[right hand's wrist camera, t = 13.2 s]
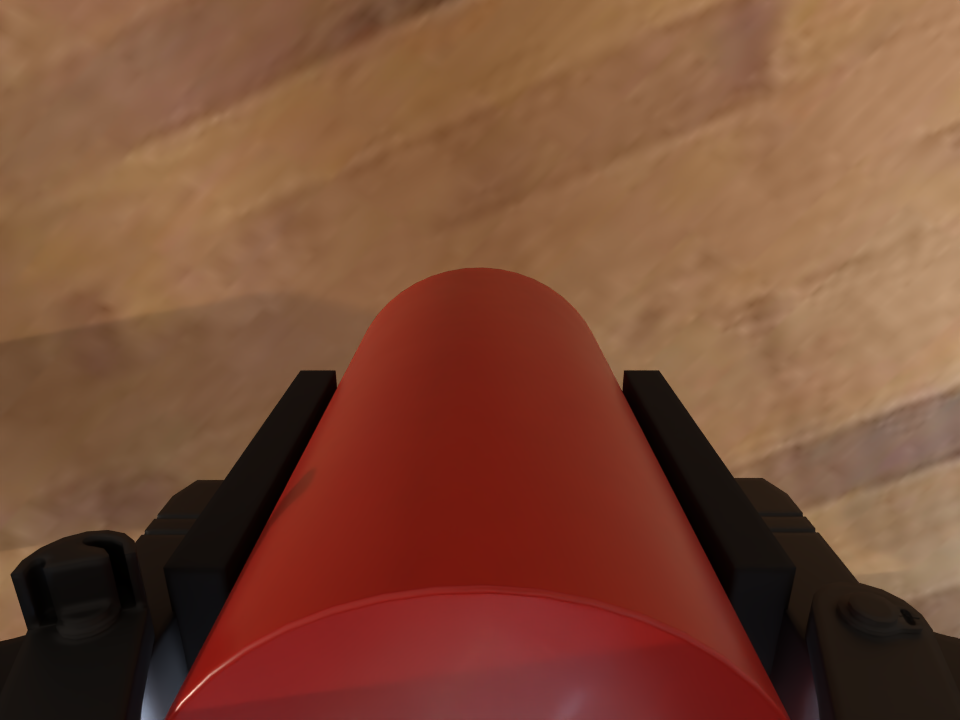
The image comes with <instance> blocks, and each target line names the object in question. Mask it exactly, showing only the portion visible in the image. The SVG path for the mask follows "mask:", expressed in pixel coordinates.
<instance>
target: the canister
mask: <svg viewBox="0 0 960 720" xmlns="http://www.w3.org/2000/svg"><path fill="white" fill-rule="evenodd" d="M164 720H790V718H789V716H788V714H787V712H786V710H785V708H784V706H783V704H782V702H781V700H780V698H779V696H778V694H777V692H776V690H775V688H774V686H773V684H772V682H771V681H770V679H769V677H768V675H767V673H766V671H765V669H764V667H763V665H762V663H761V661H760V659H759V657H758V655H757V653H756V651H755V649H754V647H753V645H752V644H751V642H750V640H749V638H748V636H747V634H746V632H745V630H744V628H743V626H742V624H741V622H740V620H739V618H738V616H737V614H736V612H735V610H734V608H733V606H732V605H731V603H730V601H729V599H728V597H727V595H726V593H725V591H724V589H723V587H722V585H721V583H720V581H719V579H718V577H717V575H716V573H715V571H714V569H713V568H712V566H711V564H710V562H709V560H708V558H707V556H706V554H705V552H704V550H703V548H702V546H701V544H700V542H699V540H698V538H697V536H696V534H695V532H694V530H693V529H692V527H691V525H690V523H689V521H688V519H687V517H686V515H685V513H684V511H683V509H682V507H681V505H680V503H679V501H678V499H677V497H676V495H675V493H674V491H673V490H672V488H671V486H670V484H669V482H668V480H667V478H666V476H665V474H664V472H663V470H662V468H661V466H660V464H659V462H658V460H657V458H656V456H655V454H654V453H653V451H652V449H651V447H650V445H649V443H648V441H647V439H646V437H645V435H644V433H643V431H642V429H641V427H640V425H639V423H638V421H637V419H636V417H635V415H634V414H633V412H632V410H631V408H630V406H629V404H628V402H627V400H626V398H625V396H624V394H623V392H622V390H621V388H620V386H619V384H618V382H617V380H616V378H615V376H614V375H613V373H612V371H611V369H610V367H609V365H608V363H607V361H606V359H605V357H604V355H603V353H602V351H601V349H600V347H599V345H598V343H597V341H596V339H595V338H594V336H593V334H592V332H591V330H590V329H589V327H588V325H587V324H586V322H585V321H584V319H583V318H582V317H581V316H580V314H579V313H578V312H577V311H576V309H575V308H574V307H573V306H572V305H571V304H570V303H569V302H567V301H566V300H565V299H564V298H563V297H562V296H561V295H559V294H558V293H556V292H555V291H554V290H552V289H551V288H549V287H548V286H546V285H544V284H542V283H540V282H538V281H536V280H534V279H532V278H529V277H526V276H524V275H521V274H518V273H514V272H510V271H506V270H501V269H492V268H464V269H458V270H452V271H447V272H444V273H440V274H437V275H434V276H431V277H428V278H426V279H424V280H422V281H420V282H417V283H415V284H414V285H412V286H411V287H409V288H407V289H406V290H404V291H403V292H401V293H400V294H399V295H397V296H396V297H395V298H394V299H393V300H391V301H390V302H389V303H388V304H387V305H386V306H385V307H384V308H383V309H382V311H381V312H380V313H379V314H378V315H377V316H376V318H375V319H374V321H373V322H372V324H371V325H370V327H369V328H368V330H367V332H366V334H365V336H364V337H363V339H362V341H361V343H360V345H359V347H358V349H357V351H356V353H355V355H354V357H353V359H352V360H351V362H350V364H349V366H348V368H347V370H346V372H345V374H344V376H343V378H342V380H341V382H340V383H339V385H338V387H337V389H336V391H335V393H334V395H333V397H332V399H331V401H330V403H329V405H328V406H327V408H326V410H325V412H324V414H323V416H322V418H321V420H320V422H319V424H318V426H317V428H316V429H315V431H314V433H313V435H312V437H311V439H310V441H309V443H308V445H307V447H306V449H305V451H304V452H303V454H302V456H301V458H300V460H299V462H298V464H297V466H296V468H295V470H294V472H293V474H292V475H291V477H290V479H289V481H288V483H287V485H286V487H285V489H284V491H283V493H282V495H281V497H280V498H279V500H278V502H277V504H276V506H275V508H274V510H273V512H272V514H271V516H270V518H269V519H268V521H267V523H266V525H265V527H264V529H263V531H262V533H261V535H260V537H259V539H258V541H257V542H256V544H255V546H254V548H253V550H252V552H251V554H250V556H249V558H248V560H247V562H246V564H245V565H244V567H243V569H242V571H241V573H240V575H239V577H238V579H237V581H236V583H235V585H234V587H233V588H232V590H231V592H230V594H229V596H228V598H227V600H226V602H225V604H224V606H223V608H222V610H221V611H220V613H219V615H218V617H217V619H216V621H215V623H214V625H213V627H212V629H211V631H210V633H209V634H208V636H207V638H206V640H205V642H204V644H203V646H202V648H201V650H200V652H199V654H198V656H197V657H196V659H195V661H194V663H193V665H192V667H191V669H190V671H189V673H188V675H187V677H186V679H185V680H184V682H183V684H182V686H181V688H180V690H179V692H178V694H177V696H176V698H175V700H174V702H173V703H172V705H171V707H170V709H169V711H168V713H167V715H166V717H165V719H164Z"/></svg>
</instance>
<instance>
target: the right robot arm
mask: <svg viewBox="0 0 960 720" xmlns="http://www.w3.org/2000/svg"><path fill="white" fill-rule="evenodd" d="M336 389H337V383H336V371H300V372H299V374H298V375H297V376H296V378H295V379H294V381H293V382H292V384H291V385H290V386H289V388H288V389H287V391H286V392H285V394H284V395H283V396H282V398H281V399H280V401H279V402H278V404H277V405H276V406H275V408H274V409H273V411H272V412H271V414H270V415H269V417H268V418H267V419H266V421H265V422H264V424H263V425H262V427H261V428H260V429H259V431H258V432H257V434H256V435H255V437H254V438H253V439H252V441H251V442H250V444H249V445H248V447H247V448H246V449H245V451H244V452H243V454H242V455H241V457H240V458H239V459H238V461H237V462H236V464H235V465H234V467H233V468H232V469H231V471H230V472H229V474H228V475H227V477H226V478H225V480H197V481H195V482H194V483H192V484H191V485H189V486H188V487H186V488H185V489H183V490H181V491H180V492H178V493H177V494H175V495H174V496H172V498H171V499H170V500H169V501H168V503H167V504H166V505H165V506H164V508H163V509H162V510H161V511H160V513H159V514H158V515H157V519H154V520H153V521H152V522H151V524H150V525H149V526H148V527H147V529H146V530H145V534H144V535H141V536H140V537H139V539H138V540H137V541H136V542H134V540H133V539H131V538H130V537H129V536H127V535H126V534H125V533H120V532H115V531H110V530H102V531H88V532H83V533H79V534H76V535H72V536H68V537H64V538H62V539H59V540H57V541H55V542H53V543H50V544H48V545H46V546H43V547H41V548H40V549H38V550H37V551H35V552H34V553H32V554H31V555H29V556H28V557H27V558H25V559H24V560H22V561H21V563H20V564H19V565H18V566H17V567H16V569H15V570H14V571H13V572H12V573H11V578H12V581H13V584H14V587H15V590H16V594H17V597H18V600H19V603H20V606H21V610H22V613H23V616H24V619H25V622H26V626H27V629H28V631H27V634H26V635H24V636H21V637H17V638H14V639H9V640H5V641H0V720H164V719H165V717H166V715H167V713H168V711H169V709H170V707H171V705H172V703H173V702H174V700H175V698H176V696H177V694H178V692H179V690H180V688H181V686H182V684H183V682H184V680H185V679H186V677H187V675H188V673H189V671H190V669H191V667H192V665H193V663H194V661H195V659H196V657H197V656H198V654H199V652H200V650H201V648H202V646H203V644H204V642H205V640H206V638H207V636H208V634H209V633H210V631H211V629H212V627H213V625H214V623H215V621H216V619H217V617H218V615H219V613H220V611H221V610H222V608H223V606H224V604H225V602H226V600H227V598H228V596H229V594H230V592H231V590H232V588H233V587H234V585H235V583H236V581H237V579H238V577H239V575H240V573H241V571H242V569H243V567H244V565H245V564H246V562H247V560H248V558H249V556H250V554H251V552H252V550H253V548H254V546H255V544H256V542H257V541H258V539H259V537H260V535H261V533H262V531H263V529H264V527H265V525H266V523H267V521H268V519H269V518H270V516H271V514H272V512H273V510H274V508H275V506H276V504H277V502H278V500H279V498H280V497H281V495H282V493H283V491H284V489H285V487H286V485H287V483H288V481H289V479H290V477H291V475H292V474H293V472H294V470H295V468H296V466H297V464H298V462H299V460H300V458H301V456H302V454H303V452H304V451H305V449H306V447H307V445H308V443H309V441H310V439H311V437H312V435H313V433H314V431H315V429H316V428H317V426H318V424H319V422H320V420H321V418H322V416H323V414H324V412H325V410H326V408H327V406H328V405H329V403H330V401H331V399H332V397H333V395H334V393H335V391H336ZM622 392H623V394H624V396H625V398H626V400H627V402H628V404H629V406H630V408H631V410H632V412H633V414H634V415H635V417H636V419H637V421H638V423H639V425H640V427H641V429H642V431H643V433H644V435H645V437H646V439H647V441H648V443H649V445H650V447H651V449H652V451H653V453H654V454H655V456H656V458H657V460H658V462H659V464H660V466H661V468H662V470H663V472H664V474H665V476H666V478H667V480H668V482H669V484H670V486H671V488H672V490H673V491H674V493H675V495H676V497H677V499H678V501H679V503H680V505H681V507H682V509H683V511H684V513H685V515H686V517H687V519H688V521H689V523H690V525H691V527H692V529H693V530H694V532H695V534H696V536H697V538H698V540H699V542H700V544H701V546H702V548H703V550H704V552H705V554H706V556H707V558H708V560H709V562H710V564H711V566H712V568H713V569H714V571H715V573H716V575H717V577H718V579H719V581H720V583H721V585H722V587H723V589H724V591H725V593H726V595H727V597H728V599H729V601H730V603H731V605H732V606H733V608H734V610H735V612H736V614H737V616H738V618H739V620H740V622H741V624H742V626H743V628H744V630H745V632H746V634H747V636H748V638H749V640H750V642H751V644H752V645H753V647H754V649H755V651H756V653H757V655H758V657H759V659H760V661H761V663H762V665H763V667H764V669H765V671H766V673H767V675H768V677H769V679H770V681H771V682H772V684H773V686H774V688H775V690H776V692H777V694H778V696H779V698H780V700H781V702H782V704H783V706H784V708H785V710H786V712H787V714H788V716H789V718H790V720H960V639H959V638H954V637H950V636H946V635H942V634H939V633H935V632H933V630H932V628H931V627H930V626H929V624H928V623H927V621H926V620H925V619H924V617H923V616H922V614H920V613H919V612H918V611H917V610H915V609H914V608H913V607H912V606H910V605H909V604H908V603H906V602H905V601H904V600H902V599H900V598H898V597H896V596H894V595H892V594H890V593H888V592H886V591H884V590H882V589H879V588H875V587H872V586H868V585H865V584H861V583H859V582H858V581H857V580H856V578H855V577H854V576H853V575H852V573H851V572H850V571H849V570H848V568H847V567H846V566H845V565H844V563H843V562H842V561H841V560H840V559H839V557H838V556H837V555H836V554H835V552H834V551H833V550H832V549H831V547H830V546H829V545H828V544H827V542H826V541H825V540H824V539H823V538H822V536H821V535H820V534H819V533H816V532H815V528H814V526H813V525H812V524H811V523H810V521H809V520H808V519H807V518H806V517H803V513H802V512H801V510H800V509H799V508H798V507H797V505H796V504H795V503H794V502H793V500H792V499H791V498H790V497H789V495H788V494H786V493H785V492H783V491H782V490H780V489H779V488H777V487H776V486H774V485H773V484H771V483H769V482H768V481H766V480H765V479H763V478H734V477H733V476H732V474H731V473H730V472H729V470H728V469H727V467H726V466H725V464H724V463H723V462H722V460H721V459H720V457H719V456H718V454H717V453H716V452H715V450H714V449H713V447H712V446H711V444H710V443H709V441H708V440H707V439H706V437H705V436H704V434H703V433H702V431H701V430H700V429H699V427H698V426H697V424H696V423H695V421H694V420H693V419H692V417H691V416H690V414H689V413H688V411H687V410H686V409H685V407H684V406H683V404H682V403H681V401H680V400H679V398H678V397H677V396H676V394H675V393H674V391H673V390H672V388H671V387H670V386H669V384H668V383H667V381H666V380H665V378H664V377H663V376H662V374H661V373H660V371H624V378H623V390H622Z"/></svg>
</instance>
